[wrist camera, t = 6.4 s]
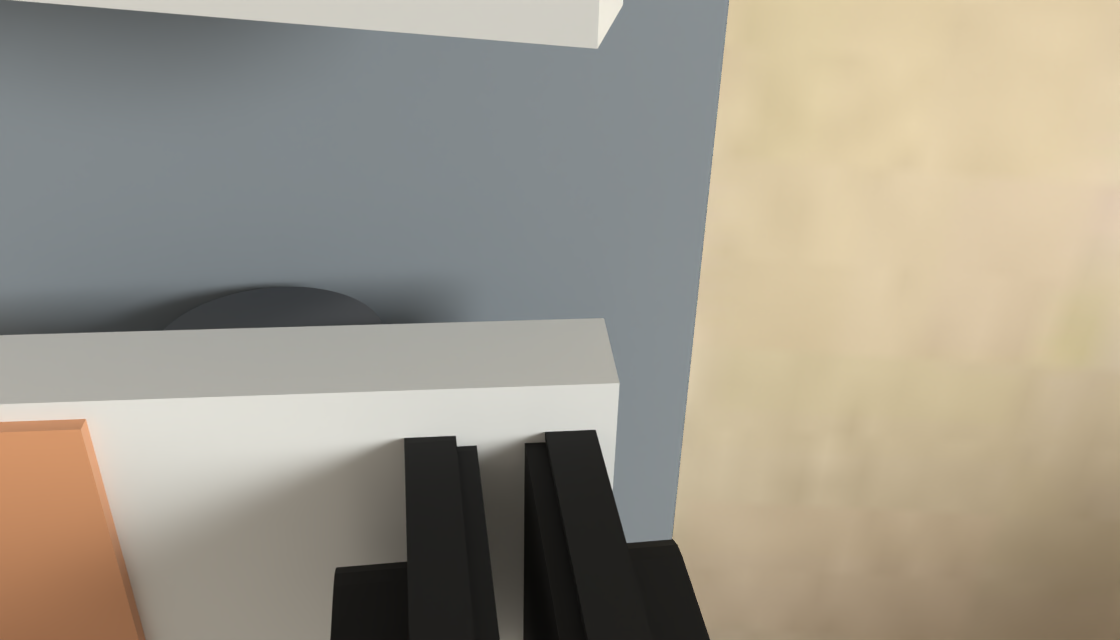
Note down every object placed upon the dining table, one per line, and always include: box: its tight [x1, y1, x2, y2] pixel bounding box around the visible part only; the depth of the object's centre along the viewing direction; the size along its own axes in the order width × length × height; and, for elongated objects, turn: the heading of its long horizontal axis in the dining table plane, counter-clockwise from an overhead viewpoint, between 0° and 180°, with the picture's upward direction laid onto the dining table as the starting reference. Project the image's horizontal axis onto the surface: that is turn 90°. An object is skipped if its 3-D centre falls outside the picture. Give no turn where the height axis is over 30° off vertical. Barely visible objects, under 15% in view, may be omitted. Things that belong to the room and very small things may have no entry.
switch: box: [0, 287, 620, 640], centre depth 12 cm, size 7×4×3 cm, turn 89°
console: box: [0, 0, 729, 543], centre depth 14 cm, size 13×25×4 cm, turn 179°
